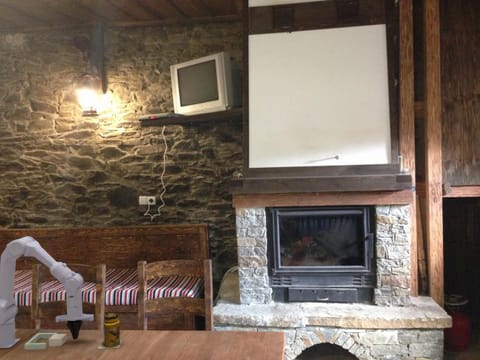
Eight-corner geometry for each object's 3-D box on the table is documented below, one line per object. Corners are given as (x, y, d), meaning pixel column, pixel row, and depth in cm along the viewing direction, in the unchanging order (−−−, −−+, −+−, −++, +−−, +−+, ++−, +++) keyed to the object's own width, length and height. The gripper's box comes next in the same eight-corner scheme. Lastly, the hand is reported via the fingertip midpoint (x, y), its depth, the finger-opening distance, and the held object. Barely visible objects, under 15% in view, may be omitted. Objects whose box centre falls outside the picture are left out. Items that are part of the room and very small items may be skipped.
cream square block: (48, 346, 163) (48, 339, 163) (54, 341, 168) (53, 334, 168) (61, 346, 163) (61, 338, 163) (66, 341, 168) (66, 333, 168)
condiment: (119, 347, 160) (118, 317, 159) (97, 349, 159) (96, 318, 158) (122, 340, 167) (121, 310, 167) (100, 341, 166) (99, 312, 165)
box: (24, 349, 160) (24, 344, 160) (38, 337, 171) (38, 333, 171) (45, 349, 160) (45, 344, 160) (57, 337, 171) (57, 332, 171)
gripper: (95, 301, 169) (97, 333, 170) (60, 302, 169) (61, 334, 170) (89, 307, 162) (91, 341, 163) (53, 308, 162) (54, 342, 162)
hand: (75, 338), depth 166 cm, fingers closed
